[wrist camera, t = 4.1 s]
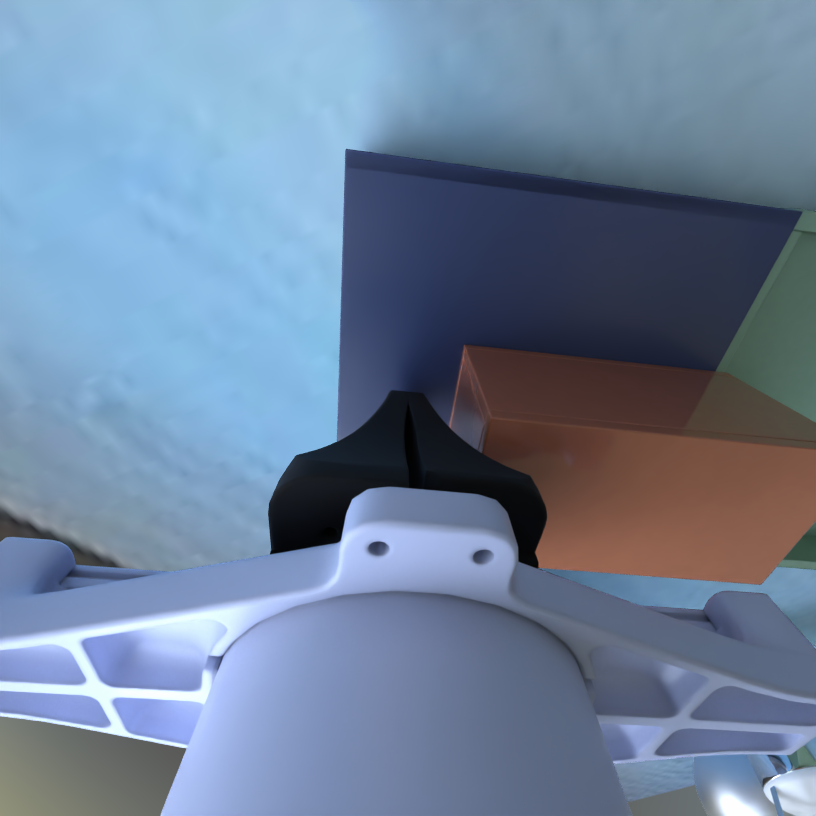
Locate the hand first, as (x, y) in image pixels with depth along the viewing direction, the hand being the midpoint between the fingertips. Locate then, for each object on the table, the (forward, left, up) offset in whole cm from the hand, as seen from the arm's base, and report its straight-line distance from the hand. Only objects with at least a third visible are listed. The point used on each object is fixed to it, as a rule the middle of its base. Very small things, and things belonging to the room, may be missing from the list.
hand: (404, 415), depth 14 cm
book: (0, -4, -4) cm, 6 cm away
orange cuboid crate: (0, -7, -1) cm, 7 cm away
